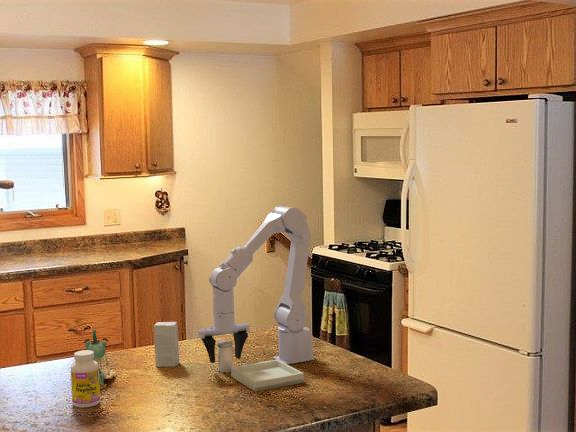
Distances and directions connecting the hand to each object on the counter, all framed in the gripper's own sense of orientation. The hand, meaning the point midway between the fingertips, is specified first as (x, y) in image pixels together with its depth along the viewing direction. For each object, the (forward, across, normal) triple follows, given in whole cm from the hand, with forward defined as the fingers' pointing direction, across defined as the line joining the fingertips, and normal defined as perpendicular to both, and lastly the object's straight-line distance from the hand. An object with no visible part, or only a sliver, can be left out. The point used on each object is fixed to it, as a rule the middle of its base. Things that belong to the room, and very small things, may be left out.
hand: (225, 360), depth 217 cm
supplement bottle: (+3, +40, +7) cm, 41 cm away
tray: (+3, -6, +14) cm, 15 cm away
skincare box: (+3, +12, -14) cm, 19 cm away
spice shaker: (+3, 0, 0) cm, 3 cm away
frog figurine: (+3, +33, -11) cm, 35 cm away
